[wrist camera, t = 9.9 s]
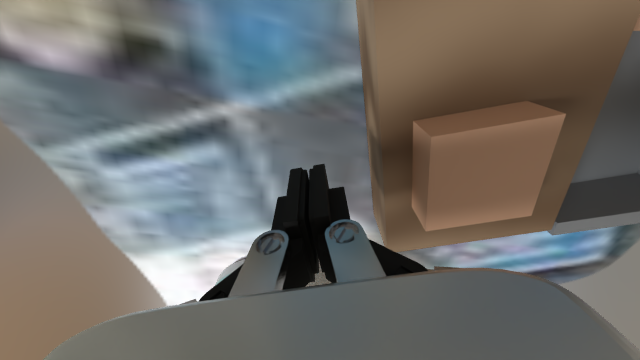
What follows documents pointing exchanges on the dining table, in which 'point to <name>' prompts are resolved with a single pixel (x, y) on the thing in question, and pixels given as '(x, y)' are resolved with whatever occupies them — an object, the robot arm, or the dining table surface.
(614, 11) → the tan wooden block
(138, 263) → the dining table surface
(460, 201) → the tile
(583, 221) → the tray
